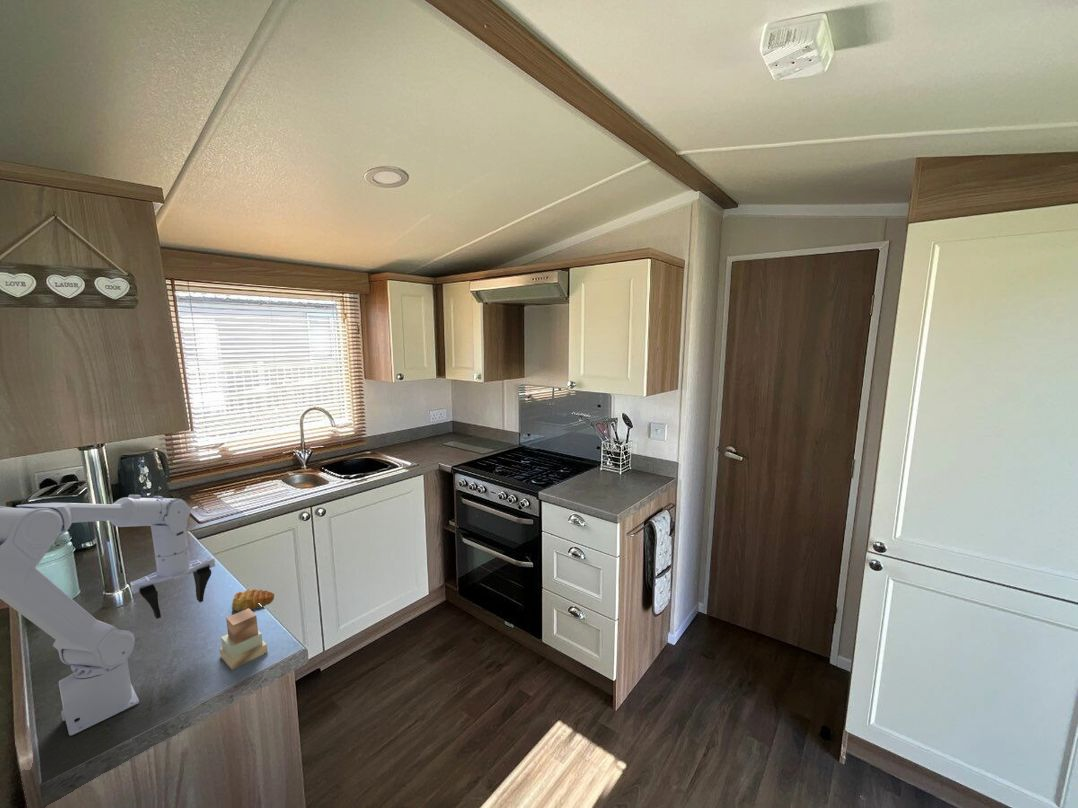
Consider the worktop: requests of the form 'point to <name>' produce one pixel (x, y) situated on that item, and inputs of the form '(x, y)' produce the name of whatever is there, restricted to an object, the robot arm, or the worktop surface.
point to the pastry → (251, 599)
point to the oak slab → (243, 656)
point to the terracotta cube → (242, 626)
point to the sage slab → (240, 644)
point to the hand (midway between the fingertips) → (179, 608)
